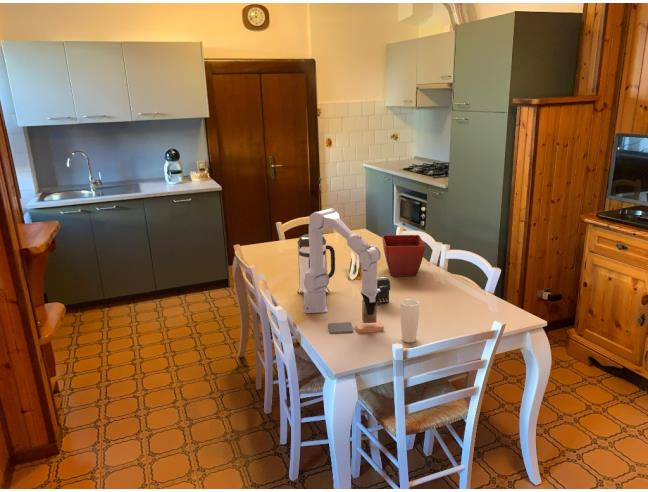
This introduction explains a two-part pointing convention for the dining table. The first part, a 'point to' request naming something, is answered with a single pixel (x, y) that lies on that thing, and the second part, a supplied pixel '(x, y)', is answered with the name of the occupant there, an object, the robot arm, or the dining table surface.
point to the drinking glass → (409, 319)
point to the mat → (340, 327)
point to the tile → (369, 327)
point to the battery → (383, 290)
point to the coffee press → (305, 259)
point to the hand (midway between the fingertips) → (369, 312)
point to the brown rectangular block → (366, 317)
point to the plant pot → (403, 254)
